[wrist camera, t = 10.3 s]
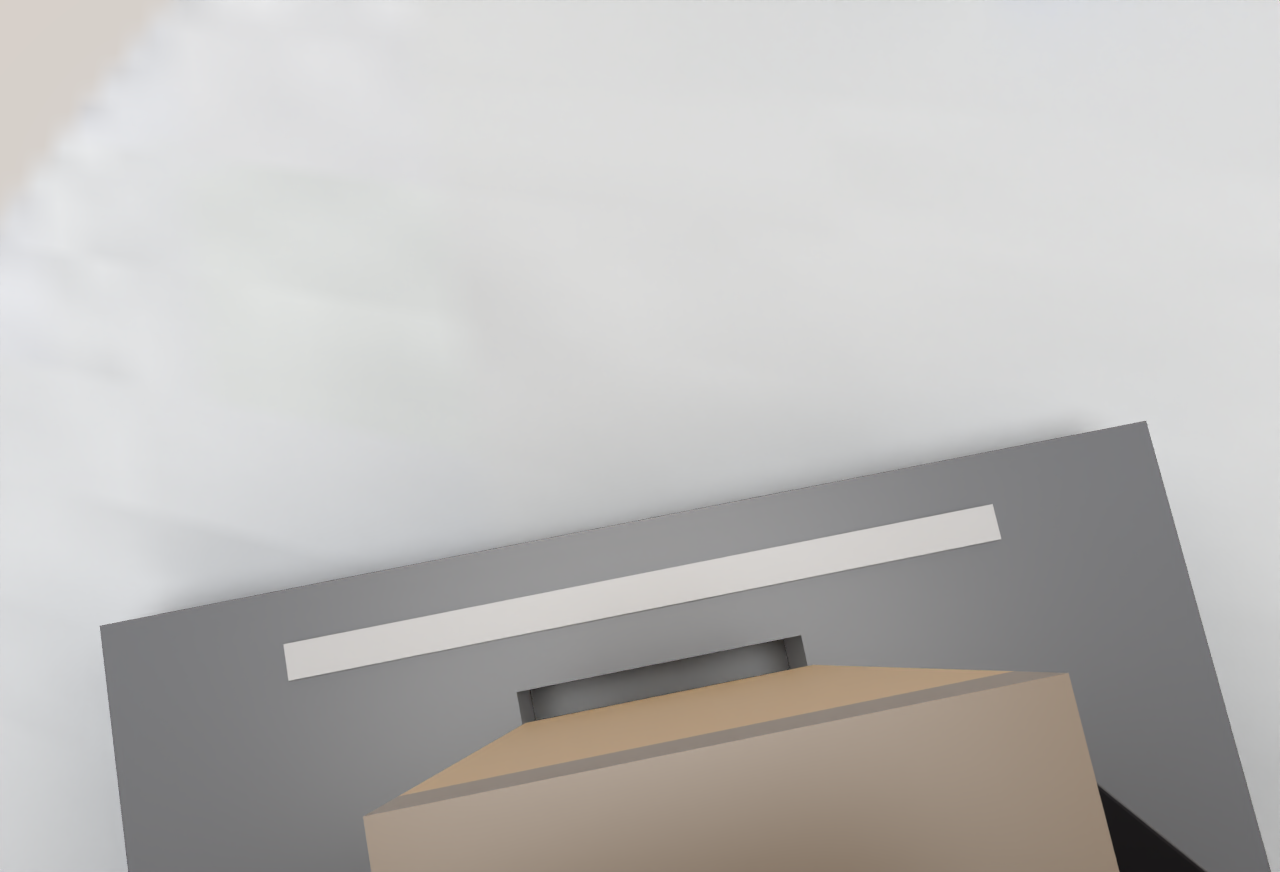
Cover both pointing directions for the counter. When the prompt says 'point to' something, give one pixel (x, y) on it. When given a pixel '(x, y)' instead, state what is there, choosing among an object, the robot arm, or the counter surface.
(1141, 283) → the counter surface
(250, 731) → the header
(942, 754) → the plug
